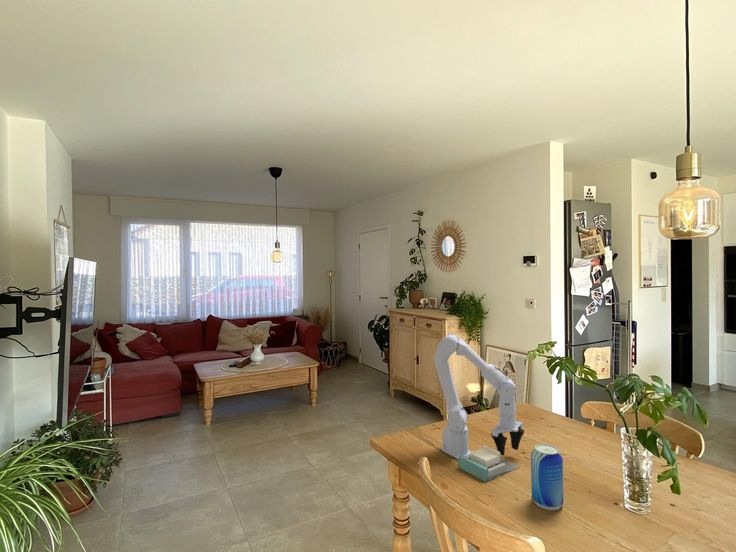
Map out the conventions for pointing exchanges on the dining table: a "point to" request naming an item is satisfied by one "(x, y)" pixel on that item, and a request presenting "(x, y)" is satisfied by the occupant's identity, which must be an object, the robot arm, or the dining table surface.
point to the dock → (485, 472)
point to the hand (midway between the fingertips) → (508, 451)
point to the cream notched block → (486, 456)
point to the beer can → (547, 477)
